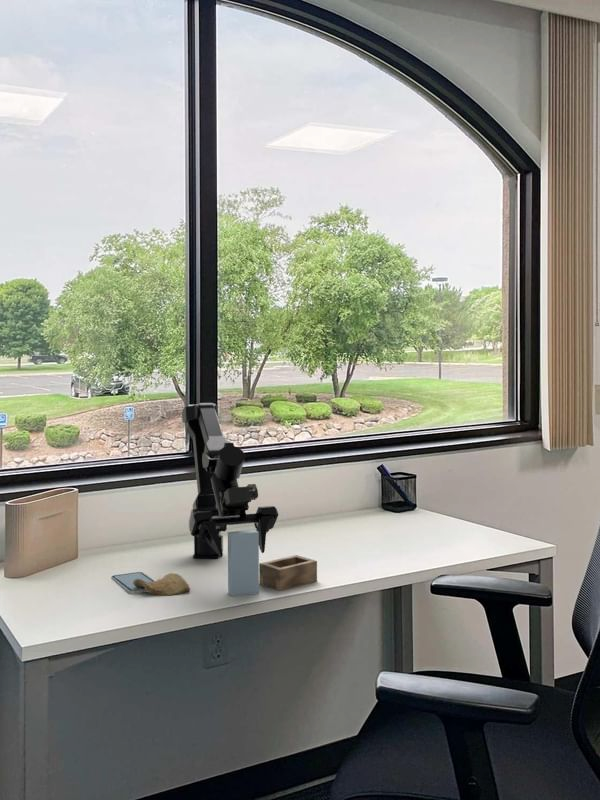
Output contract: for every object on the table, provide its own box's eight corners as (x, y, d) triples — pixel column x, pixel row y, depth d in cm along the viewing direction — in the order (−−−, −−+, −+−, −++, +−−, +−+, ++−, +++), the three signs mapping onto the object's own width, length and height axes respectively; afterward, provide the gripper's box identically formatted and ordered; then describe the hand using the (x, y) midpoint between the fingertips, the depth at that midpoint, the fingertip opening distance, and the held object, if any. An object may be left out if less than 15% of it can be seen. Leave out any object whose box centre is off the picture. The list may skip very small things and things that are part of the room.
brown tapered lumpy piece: (168, 587, 175) (128, 584, 169) (173, 568, 176) (133, 564, 170) (192, 602, 167) (151, 600, 161) (197, 582, 167) (156, 579, 161)
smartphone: (141, 571, 182) (163, 586, 169) (141, 575, 182) (163, 591, 169) (109, 575, 178) (130, 591, 165) (110, 580, 178) (130, 596, 165)
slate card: (231, 596, 163) (231, 534, 163) (228, 592, 166) (227, 532, 165) (258, 593, 166) (258, 532, 165) (255, 589, 168) (254, 529, 167)
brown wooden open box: (279, 590, 167) (279, 569, 167) (259, 583, 172) (259, 563, 172) (316, 580, 174) (316, 560, 174) (296, 574, 180) (296, 555, 179)
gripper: (192, 474, 166) (206, 536, 157) (275, 469, 173) (293, 528, 164) (184, 504, 174) (196, 566, 164) (263, 499, 181) (280, 557, 171)
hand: (242, 554), depth 166 cm, fingers open, 9 cm apart
